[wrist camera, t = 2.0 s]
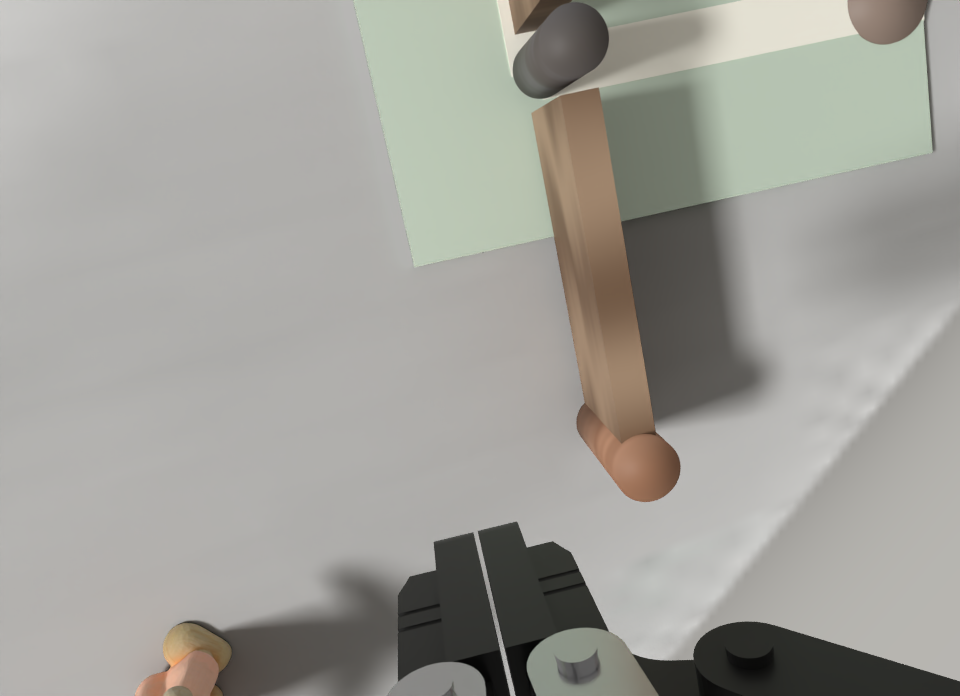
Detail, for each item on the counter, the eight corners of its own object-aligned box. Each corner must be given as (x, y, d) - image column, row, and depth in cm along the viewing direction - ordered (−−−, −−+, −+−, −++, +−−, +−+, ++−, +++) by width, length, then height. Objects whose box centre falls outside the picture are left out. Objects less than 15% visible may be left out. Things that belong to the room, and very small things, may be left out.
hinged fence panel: (504, 47, 27) (531, 10, 21) (564, 34, 27) (605, -5, 21) (581, 452, 30) (621, 508, 25) (634, 439, 30) (685, 493, 25)
